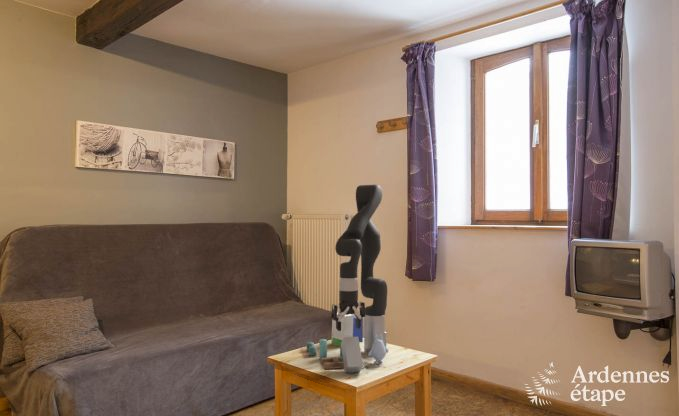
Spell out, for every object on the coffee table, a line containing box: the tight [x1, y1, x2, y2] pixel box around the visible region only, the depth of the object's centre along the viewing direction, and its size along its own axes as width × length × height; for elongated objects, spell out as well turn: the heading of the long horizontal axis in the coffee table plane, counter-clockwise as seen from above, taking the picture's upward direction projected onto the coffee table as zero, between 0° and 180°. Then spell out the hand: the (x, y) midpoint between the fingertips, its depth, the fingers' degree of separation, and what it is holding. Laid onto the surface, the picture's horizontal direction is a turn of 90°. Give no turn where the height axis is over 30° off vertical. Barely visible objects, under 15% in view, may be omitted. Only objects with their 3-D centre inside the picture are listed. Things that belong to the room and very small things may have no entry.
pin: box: [318, 338, 328, 361], centre depth 197 cm, size 3×3×9 cm
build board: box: [320, 343, 345, 371], centre depth 191 cm, size 11×8×9 cm
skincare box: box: [330, 311, 355, 347], centre depth 220 cm, size 8×7×16 cm
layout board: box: [299, 341, 319, 359], centre depth 205 cm, size 8×13×5 cm, turn 13°
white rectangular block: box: [341, 337, 364, 374], centre depth 185 cm, size 6×12×6 cm
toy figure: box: [367, 334, 389, 365], centre depth 195 cm, size 11×6×12 cm, turn 125°
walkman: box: [353, 316, 364, 343], centre depth 229 cm, size 8×3×12 cm, turn 96°
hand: (348, 329), depth 188 cm, fingers open, 8 cm apart
